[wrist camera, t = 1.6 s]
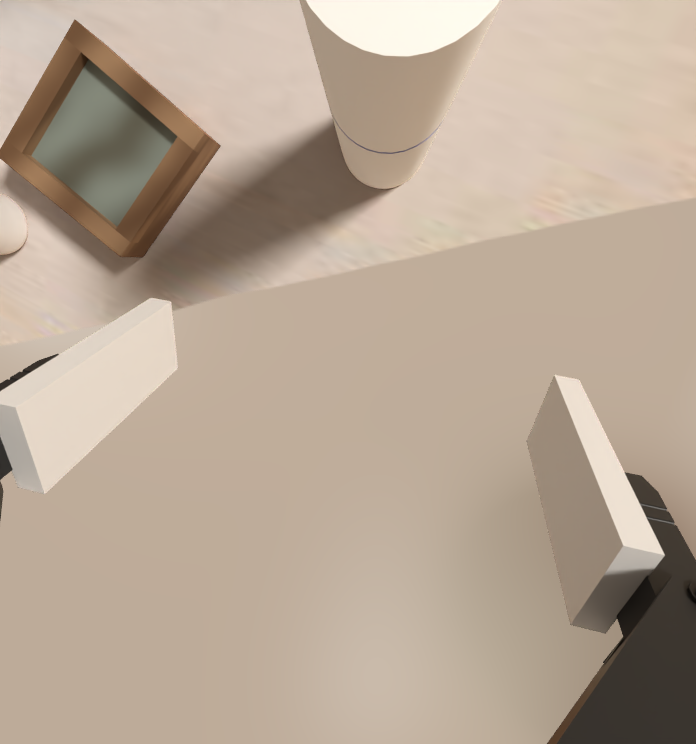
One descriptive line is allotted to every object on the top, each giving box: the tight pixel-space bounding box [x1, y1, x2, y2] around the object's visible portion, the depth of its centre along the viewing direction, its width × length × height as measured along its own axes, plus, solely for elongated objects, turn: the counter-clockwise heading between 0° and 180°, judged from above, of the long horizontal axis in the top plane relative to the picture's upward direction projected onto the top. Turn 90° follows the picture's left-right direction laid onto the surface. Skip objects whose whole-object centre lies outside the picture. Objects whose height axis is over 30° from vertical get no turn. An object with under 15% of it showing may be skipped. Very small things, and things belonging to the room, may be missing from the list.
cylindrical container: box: [300, 0, 503, 189], centre depth 25 cm, size 7×7×25 cm
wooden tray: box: [0, 20, 220, 257], centre depth 37 cm, size 12×12×4 cm
